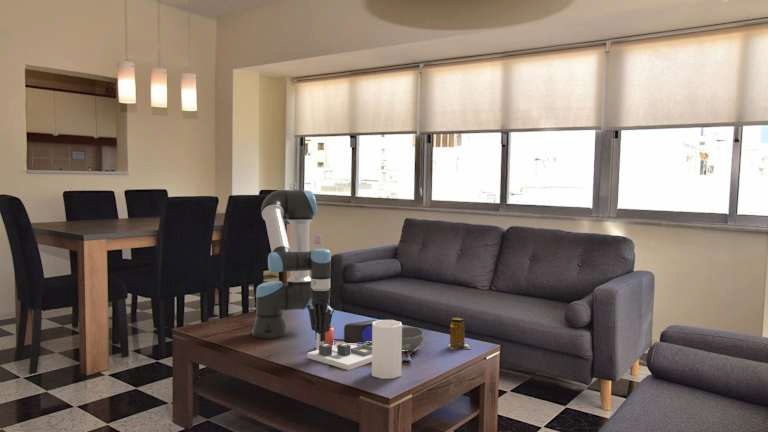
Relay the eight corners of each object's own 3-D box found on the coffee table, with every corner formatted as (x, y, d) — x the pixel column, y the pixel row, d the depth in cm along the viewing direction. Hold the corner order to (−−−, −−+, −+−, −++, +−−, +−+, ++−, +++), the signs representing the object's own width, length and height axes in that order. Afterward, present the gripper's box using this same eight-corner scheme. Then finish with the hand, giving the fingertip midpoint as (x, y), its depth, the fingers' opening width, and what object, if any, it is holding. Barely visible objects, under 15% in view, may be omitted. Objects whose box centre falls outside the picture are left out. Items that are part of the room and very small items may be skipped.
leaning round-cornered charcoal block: (348, 348, 234) (348, 326, 234) (343, 345, 238) (343, 323, 238) (381, 342, 244) (381, 321, 243) (375, 340, 247) (375, 319, 247)
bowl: (373, 353, 228) (374, 334, 227) (388, 342, 244) (388, 324, 244) (416, 358, 222) (417, 338, 221) (428, 347, 238) (429, 328, 238)
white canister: (366, 376, 200) (366, 325, 199) (377, 367, 210) (378, 318, 209) (395, 381, 196) (396, 328, 195) (406, 371, 206) (406, 321, 205)
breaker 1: (319, 354, 219) (319, 344, 219) (324, 352, 221) (324, 342, 221) (326, 356, 216) (326, 346, 216) (331, 354, 219) (332, 344, 218)
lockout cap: (319, 346, 236) (319, 325, 236) (327, 344, 240) (327, 322, 239) (327, 349, 233) (327, 327, 232) (336, 346, 237) (336, 324, 236)
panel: (307, 357, 221) (307, 349, 221) (343, 346, 236) (343, 338, 236) (348, 370, 207) (348, 360, 207) (383, 357, 222) (383, 349, 222)
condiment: (448, 344, 242) (448, 316, 242) (468, 344, 242) (468, 317, 242) (450, 349, 235) (450, 320, 234) (470, 349, 235) (471, 321, 234)
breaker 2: (337, 354, 219) (337, 344, 219) (342, 352, 222) (342, 342, 222) (344, 356, 217) (345, 346, 217) (350, 354, 219) (350, 344, 219)
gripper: (301, 288, 220) (301, 348, 222) (325, 292, 212) (324, 354, 213) (316, 285, 226) (315, 344, 227) (339, 289, 218) (339, 350, 219)
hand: (320, 349), depth 220 cm, fingers closed
